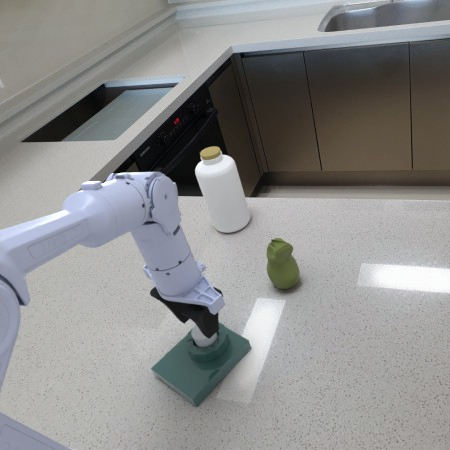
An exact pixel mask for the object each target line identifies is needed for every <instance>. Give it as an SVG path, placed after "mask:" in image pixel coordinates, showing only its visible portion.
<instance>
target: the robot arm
mask: <svg viewBox="0 0 450 450" xmlns="http://www.w3.org/2000/svg"><path fill="white" fill-rule="evenodd" d="M108 175H109V176H108V177H107V178H106V180H105V181H104V182H102V181H101V180H92V181H91V180H89V181H86V182H82V183H81V184H80V189H81V190H79V191H76V192H72V193H71V194H70V195H68V196H67V197H66V198H65V200H64V201H63V203H62V206H61V209H60V210H61V211H58V212H54V213H51V214H47V215H44V216H41V217H38V218H35V219H32V220H28V221H25V222H22V223H17V224H15V225H12V226H9V227H5V228H2V229H0V392H1V390H2V387H3V385H4V382H5V378H6V375H7V371H8V368H9V365H10V362H11V358H12V355H13V351H14V350H15V346H16V342H17V339H18V335H19V330H20V325H21V317H22V316H21V307H28V305H29V304H30V302H31V296H30V291H29V288H28V284H27V280H26V276H27V274H29V273H32V272H33V271H35V270H36V269H38V268H40V267H41V266H43V265H45V264H46V263H49V262H50V261H52V260H54V259H55V258H57V257H59V256H61V255H63V254H64V253H66V252H68V251H69V250H72V249H73V248H75V247H76V246H78V245H80V246H83V247H85V248H89V249H97V248H100V247H103V246H104V245H106V244H108V243H110V242H112V241H114V240H116V239H118V238H121V237H122V236H124V235H125V234H127V233H130V235H131V236H132V238H133V240H134V243H135V245H136V246H137V248H138V250H139V253H140V255H141V257H142V258H143V261H144V263H145V264H144V265H143V266H142V270H143V272H144V274H145V276H146V278H147V279H148V280H151V281H152V284H153V285H154V287H152V288H151V290H150V291H149V295H150V297H152V298H153V299H156V300H158V301H159V302H160V303H162V304H163V305H164V306H165V307H167V309H168V310H169V311H170V312H171V313H172V314H173V316H175V318H176V319H177V320H178V321H180V322H181V323H182V324H183V325H185V324H186V323H187V322H188V321H189V320H191V321H192V322H193V323H194V325H197V326H198V328H199V329H200V331H201V332H202V334H203V335H204V336H205V337H207V338H209V339H210V338H211V337H212V336H213V335H214V334H215V333H216V332H217V331H218V330H219V322H220V321H219V313H220V311H221V310H222V309H223V308H224V307H225V306H226V302H225V300H224V294H223V291H222V290H221V289H219V288H217V287H215V286H213V285H212V284H211V282H210V280H209V279H208V278H207V277H206V275H205V274H204V272H205V271H206V270H207V267H206V264H205V263H203V262H202V261H199V260H196V259H195V257H194V256H195V255H193V251H192V249H191V247H190V244H189V242H188V239H187V237H186V235H185V232H184V230H183V228H182V227H183V226H182V224H181V221H182V212H181V210H180V207H179V192H178V186H177V183H176V182H175V181H173V180H172V179H171V178H170V177H169V176H166V174H165V173H162V172H161V171H138V172H137V171H136V172H120V173H115V172H112V173H110V174H108ZM0 450H72V449H71V448H69V447H68V446H66V445H64V444H62V443H60V442H59V441H56V440H54V439H52V438H51V437H48V436H46V435H44V434H43V433H41V432H39V431H37V430H36V429H34V428H32V427H29V426H27V425H26V424H24V423H22V422H20V421H18V420H17V419H14V418H12V417H10V416H8V415H7V414H5V413H2V412H1V411H0Z"/></svg>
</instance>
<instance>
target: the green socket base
mask: <svg viewBox="0 0 450 450" xmlns="http://www.w3.org/2000/svg"><path fill="white" fill-rule="evenodd" d="M192 329H193V328H191V329H190V330H189V331H188V332H187V334H186V335H185V336H184V337H183V338H182V339H180V341H178V342H177V343H176V345H174V346H173V347H172V348H171V349H170V350H169V351H167V353H166V354H164V356H162V358H160V359H159V360H158V361H157V362H156V363H155V364H154V365H153V366H152V367H150V370H151V372H152V374H153V375H154V377H156V378H157V379H159V380H160V381H161V382H163V383H164V384H165V385H167V387H168V388H169V387H170V388H171V389H172V390H173V391H175V392H176V393H177V394H179V395H180V396H181V397H183V398H184V399H185V400H187V401H188V402H189V403H191V404H192V405H193V406H195V407H198V406H199V405H200V404H201V403H203V401H204V400H205V399H206V397H207V396H208V395H210V393H212V391H213V390H214V389H215V388H216V387H217V386H218V385H219V384H220V382H222V381H223V379H224V378H225V377H227V375H228V374H229V373H230V372H231V371H232V370H233V369H234V368H235V366H236V365H238V363H239V362H240V361H241V360H242V359H243V358H244V357H245V356H247V354H248V353H249V351H250V350H252V346H251V343H250V342H251V341H250V340H249V339H247V338H246V337H244V336H242V335H240V334H239V333H237V332H235V331H233V330H231V329H229V327H226V326H225V324H223V323H222V322H221V321H219V330H218V331H217V334H218V337H217V340H216V342H215V343H214V344H213V345H211V346H209V347H206V348H200V347H198V346H197V345H196V344H195V342H194V340H193V338H192V335H191V332H192Z"/></svg>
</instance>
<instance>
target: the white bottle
mask: <svg viewBox="0 0 450 450" xmlns="http://www.w3.org/2000/svg"><path fill="white" fill-rule="evenodd" d="M199 155H200V160H201V161H199V162H198V163H197V165H196V166H195V169H194V172H195V173H194V174H195V177H196V180H197V183H198V185H199V189H200V191H201V194H202V197H203V200H204V203H205V205H206V208H207V211H208V214H209V217H210V219H211V222H212V225H213V227H214V228H215V230H216V231H218V232H220V233H224V234H225V233H226V234H228V233H229V234H231V233H234V232H238V231H240V230H242V229H243V228H245V227H246V226H247V225H248V223H249V222H250V219H251V213H250V209H249V206H248V202H247V198H246V196H245V195H246V194H245V192H244V189H243V184H242V181H241V177H240V175H239V171H238V168H237V163H236V162H235V160H234V158H233V157H231V156H229V155H227V154H223V151H222V150H221V148H220V147H219V146H214V145H213V146H209V147H205V148H204V149H202V150H201V151H199Z"/></svg>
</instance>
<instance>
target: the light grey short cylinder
mask: <svg viewBox="0 0 450 450" xmlns="http://www.w3.org/2000/svg"><path fill="white" fill-rule="evenodd" d="M191 329H192V332H191V335H192V338H193V340H194V342H195V344H196V345H197V346H198V347H200V348H206V347H209V346H211V345H213V344H214V343H215V342H216V340H217V337H218V334H217V332H216V333H215V334H214V335H213V336H212V337H211V338H210V339H209V338H207V337H205V336H204V335H203V334H202V332H201V331H200V329H199V328H198V326H197V325H196V324H194V326H193V327H192V328H191Z"/></svg>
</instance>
